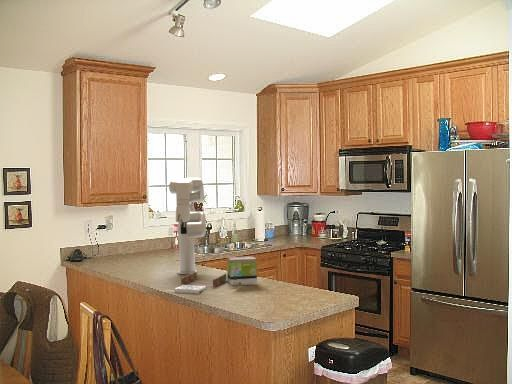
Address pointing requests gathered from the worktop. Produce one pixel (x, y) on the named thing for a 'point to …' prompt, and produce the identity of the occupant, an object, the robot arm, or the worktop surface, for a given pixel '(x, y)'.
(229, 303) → the worktop surface
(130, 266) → the worktop surface
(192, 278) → the walnut case
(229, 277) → the tea box
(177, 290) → the cover plate
